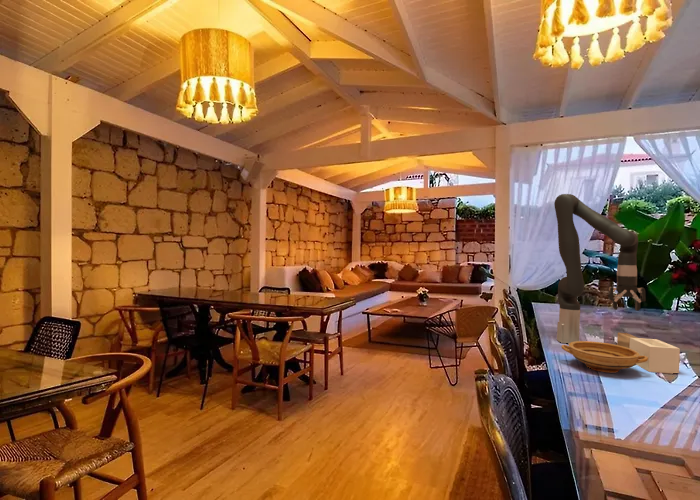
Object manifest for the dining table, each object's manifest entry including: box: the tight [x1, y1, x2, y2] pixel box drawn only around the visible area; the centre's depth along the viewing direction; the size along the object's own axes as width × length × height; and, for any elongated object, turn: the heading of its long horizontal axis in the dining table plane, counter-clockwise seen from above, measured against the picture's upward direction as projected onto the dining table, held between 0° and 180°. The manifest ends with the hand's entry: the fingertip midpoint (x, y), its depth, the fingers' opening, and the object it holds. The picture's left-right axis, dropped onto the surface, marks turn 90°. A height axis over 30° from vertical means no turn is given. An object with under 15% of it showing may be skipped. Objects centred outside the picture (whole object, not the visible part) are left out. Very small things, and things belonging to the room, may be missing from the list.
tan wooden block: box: [616, 332, 638, 348], centre depth 181 cm, size 4×10×9 cm, turn 170°
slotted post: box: [629, 337, 681, 374], centre depth 163 cm, size 10×15×10 cm
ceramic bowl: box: [560, 340, 648, 374], centre depth 159 cm, size 30×24×8 cm
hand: (626, 310), depth 182 cm, fingers open, 8 cm apart
